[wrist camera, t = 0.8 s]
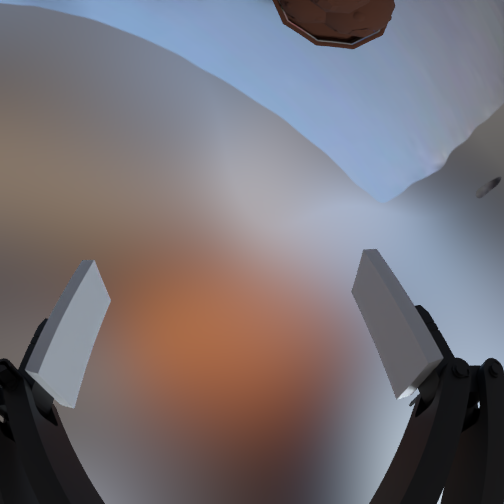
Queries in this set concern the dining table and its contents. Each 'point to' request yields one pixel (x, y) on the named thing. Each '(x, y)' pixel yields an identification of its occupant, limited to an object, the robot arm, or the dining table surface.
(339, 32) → the ice cream bowl
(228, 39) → the dining table surface
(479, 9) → the dining table surface
